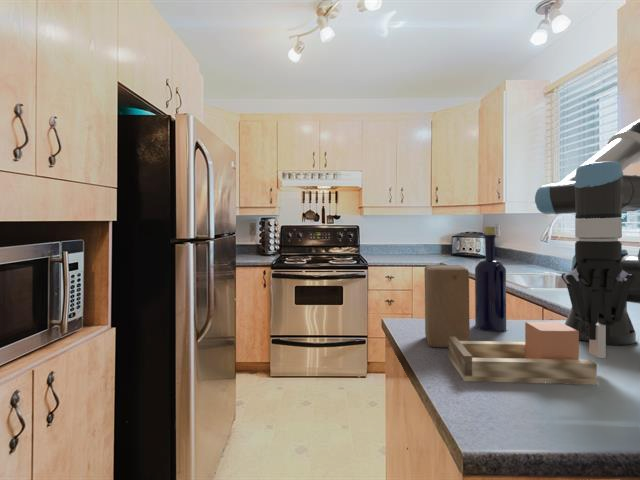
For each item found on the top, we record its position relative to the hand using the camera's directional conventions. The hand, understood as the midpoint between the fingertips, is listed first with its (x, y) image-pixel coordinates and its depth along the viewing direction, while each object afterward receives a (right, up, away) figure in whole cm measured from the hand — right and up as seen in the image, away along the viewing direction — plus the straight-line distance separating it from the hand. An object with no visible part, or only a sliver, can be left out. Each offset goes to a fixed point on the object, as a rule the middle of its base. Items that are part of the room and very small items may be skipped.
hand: (597, 355), depth 75 cm
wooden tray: (-16, -4, +2) cm, 16 cm away
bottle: (-6, -3, +34) cm, 35 cm away
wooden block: (-24, -4, +21) cm, 32 cm away
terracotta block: (-9, -2, +1) cm, 9 cm away
